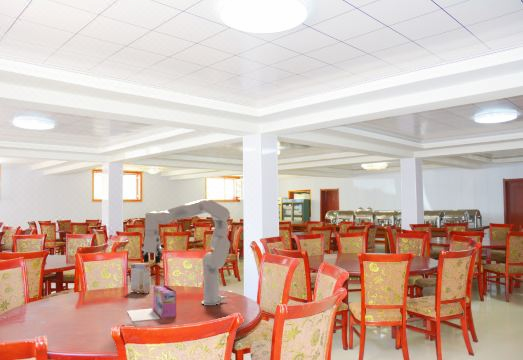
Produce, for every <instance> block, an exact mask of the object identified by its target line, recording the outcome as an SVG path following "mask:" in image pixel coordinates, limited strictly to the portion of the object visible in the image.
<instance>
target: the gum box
mask: <svg viewBox="0 0 523 360" xmlns="http://www.w3.org/2000/svg"><path fill="white" fill-rule="evenodd" d="M152 301H153V303H152V305H153V306H152V307H153V308H152V309H153V311H154V312H155V313H156V314H157V315H158V316H159V315H160V316H159V318H160V317H161V318H162V319H165V318H167V317H168V318H175V317H177V290H174V289H172V288H171V287H169V286H167V285H163V286H158V287H156V286H153V300H152Z"/></svg>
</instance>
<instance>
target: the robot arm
mask: <svg viewBox="0 0 523 360" xmlns="http://www.w3.org/2000/svg"><path fill="white" fill-rule="evenodd" d="M206 213H207V214H209V215H210V217H211V219H212V221H213V222H214V230H213V233H212V236H211V239H210V241H209V248H210V249H211V250H213V251H209V252H206V253H205V254H203V255H204V256H203V258H202V267H203V300H202V301H201V303H202V304H204V305H203V306H217V305H216V304H218V305H221V304H222V303H223V302H222V301H223V300H227V299H228V298H227V295H226V296H223V295H222V296H221V295H220V270H219V269H222V268H223V267H224V265H225V263H226V261H227V257H228V254H229V251H230V246H231V244H230V243H231V242H230V240H229V239H228V237H227V235H228V230H229V225H228V220H229V218H230V216H231V213H230V211H229V209H228V208H227V207H225V206H224V205H222V204H220V203H219V202H216V201H215V200H213V199H211V198H207V199H205V198H204V199H199V200H196V201H192V202H189V203H185V204H183V205H182V204H181V205H179V206H175V207H172V208H168V209H165V210H161V211H158V212H157V211H149V212H146V213H145V215H144V216H145V218H144V219H145V220H144V224H145V225H144V228H145V229H144V233H145V234H144V240H143V246H141V248H140V250H141V253H142V255H143V263H149V262H150V259H149V258H150V257H149V256H150V255H149V254H155V256H154V258H155V261H154V263H155V264H160V263H161V256H162V254H163V250H164V248H163V247H161V246H162V245H161V243H162V242H161V237H160V236H161V235H159V234H160V231H159V224H160V225H168V224H170V223H171V222H172V221H176V220H184V219H189V218H192V217H195V216H199V215H201V214H206ZM201 303H200V304H201ZM220 303H221V304H220ZM202 304H201V305H202Z"/></svg>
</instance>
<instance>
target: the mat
mask: <svg viewBox="0 0 523 360" xmlns="http://www.w3.org/2000/svg"><path fill="white" fill-rule="evenodd" d="M126 313H127V315H128V316H129V319H130V320H131V321H132V323H137V322H146V321H154V320H155V321H156V320H160V319H161V318H160V316H159V315H158V314H157V313H156V312H155V311H154V310H153V308H152V307H151V308H144V309H143V308H142V309H141V308H140V309H131V310H127V311H126Z"/></svg>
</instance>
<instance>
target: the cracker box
mask: <svg viewBox="0 0 523 360" xmlns="http://www.w3.org/2000/svg"><path fill="white" fill-rule="evenodd" d="M131 291H133V292H139V293H138V294H141V293H146V294H148V293H147V292H150V293H151V263H149V262H132V263H131V264H130V292H131ZM133 292H132V293H133Z"/></svg>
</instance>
